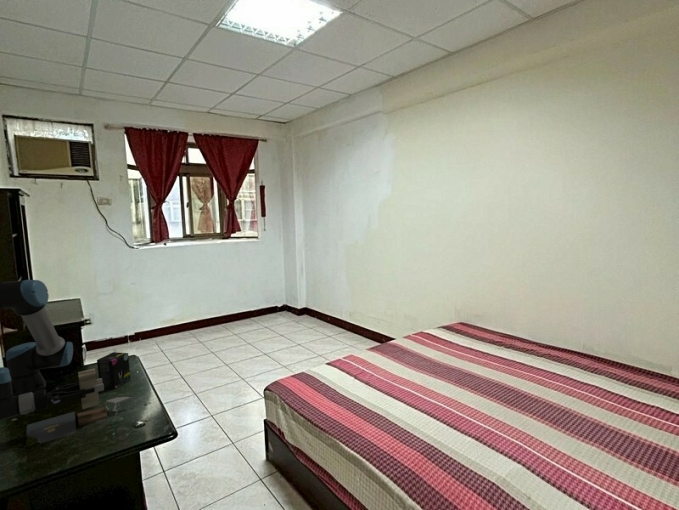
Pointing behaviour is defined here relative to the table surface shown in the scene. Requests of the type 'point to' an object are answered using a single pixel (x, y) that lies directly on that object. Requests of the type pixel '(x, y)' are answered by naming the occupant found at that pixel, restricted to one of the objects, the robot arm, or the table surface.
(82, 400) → the birch block
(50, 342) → the robot arm
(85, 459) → the table surface
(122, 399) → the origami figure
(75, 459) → the table surface
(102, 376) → the tampon box
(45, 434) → the tile
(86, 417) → the walnut pad
